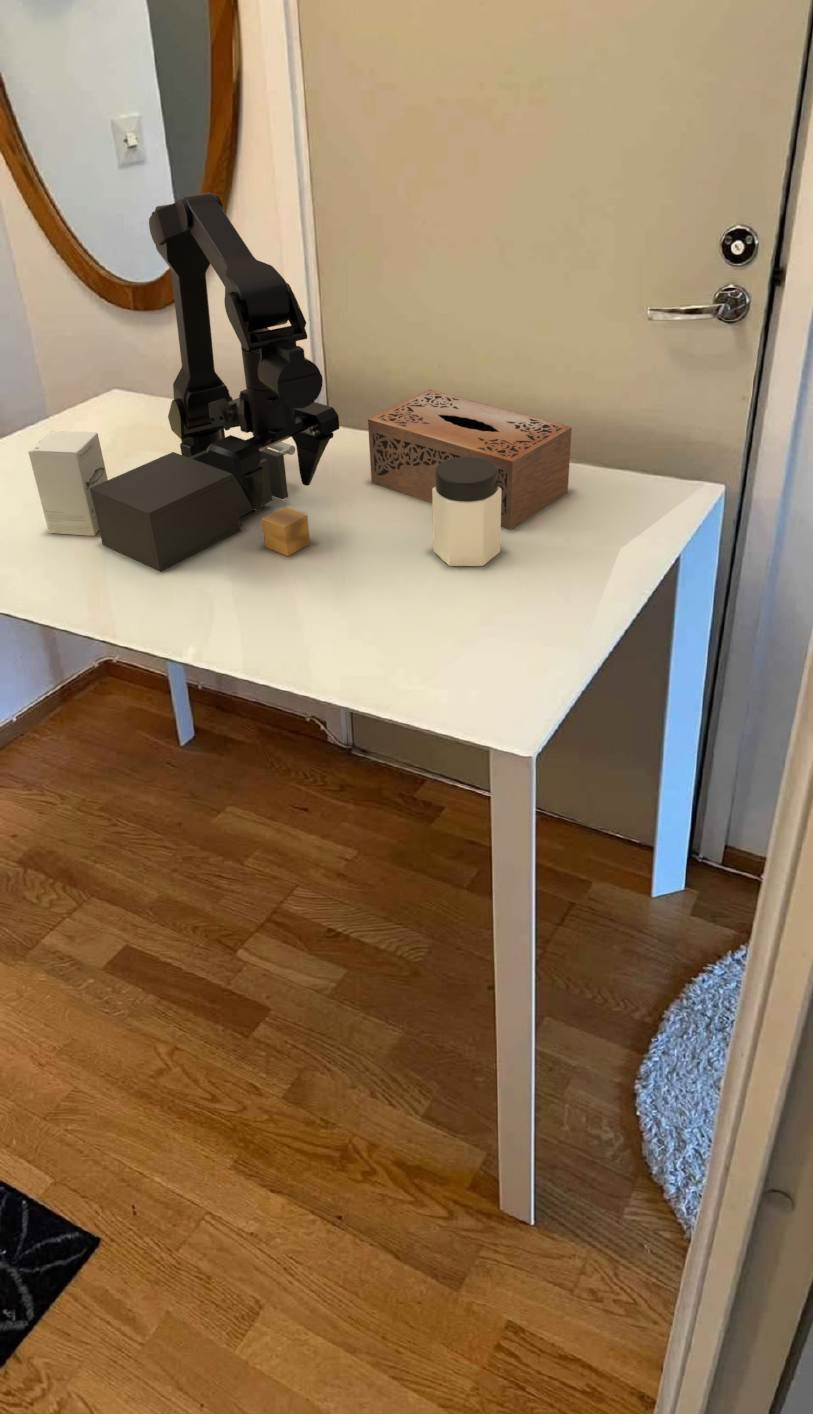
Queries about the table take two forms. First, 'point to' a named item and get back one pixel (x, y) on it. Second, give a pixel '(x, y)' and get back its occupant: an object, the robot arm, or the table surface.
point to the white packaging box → (68, 480)
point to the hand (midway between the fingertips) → (281, 497)
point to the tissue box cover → (470, 450)
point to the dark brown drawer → (271, 476)
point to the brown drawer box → (166, 510)
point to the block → (286, 531)
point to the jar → (466, 511)
